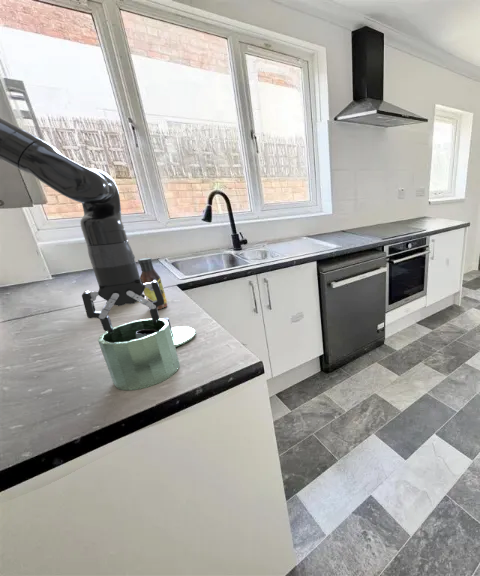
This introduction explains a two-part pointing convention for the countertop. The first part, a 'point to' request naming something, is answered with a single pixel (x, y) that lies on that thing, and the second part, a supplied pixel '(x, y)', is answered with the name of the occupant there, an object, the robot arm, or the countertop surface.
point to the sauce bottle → (149, 276)
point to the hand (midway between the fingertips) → (133, 326)
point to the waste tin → (139, 354)
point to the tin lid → (181, 334)
